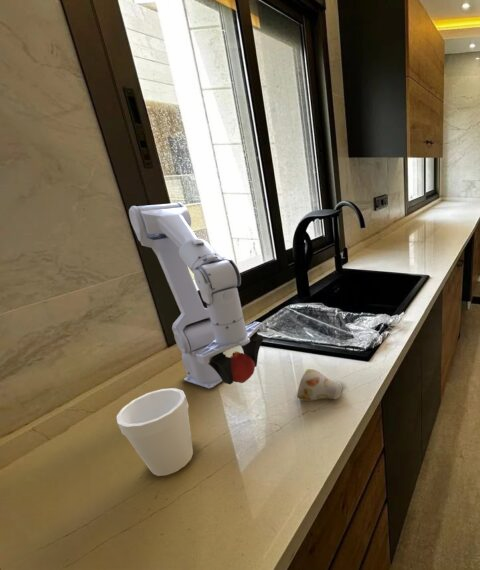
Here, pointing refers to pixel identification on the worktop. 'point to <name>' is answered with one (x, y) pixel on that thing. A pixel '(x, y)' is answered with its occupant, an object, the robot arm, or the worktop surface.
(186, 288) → the robot arm
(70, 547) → the worktop surface
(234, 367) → the red round piece
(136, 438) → the foam cup
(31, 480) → the worktop surface
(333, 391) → the white spotted tapered part
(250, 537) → the worktop surface
